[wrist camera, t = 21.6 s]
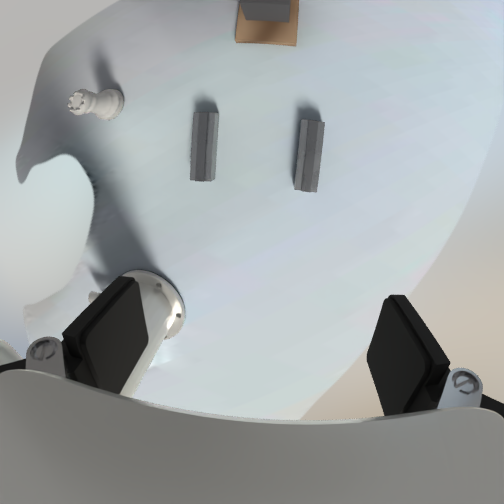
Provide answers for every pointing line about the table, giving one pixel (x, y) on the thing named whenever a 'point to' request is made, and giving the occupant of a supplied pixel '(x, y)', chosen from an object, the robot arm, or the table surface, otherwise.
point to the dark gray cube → (266, 10)
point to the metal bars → (207, 148)
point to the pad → (268, 29)
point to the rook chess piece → (97, 103)
